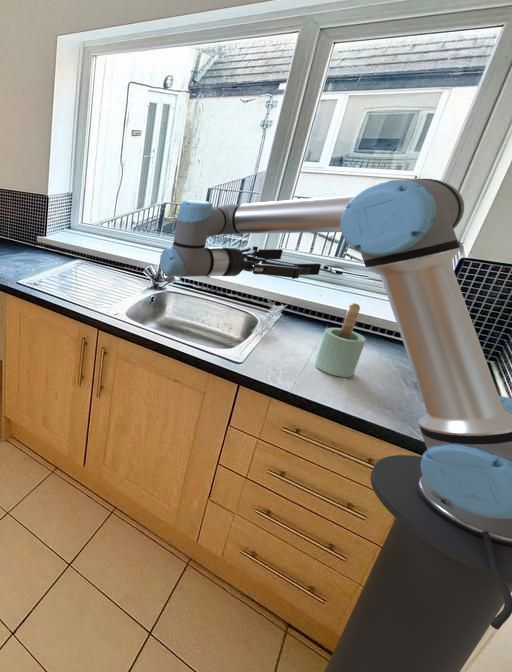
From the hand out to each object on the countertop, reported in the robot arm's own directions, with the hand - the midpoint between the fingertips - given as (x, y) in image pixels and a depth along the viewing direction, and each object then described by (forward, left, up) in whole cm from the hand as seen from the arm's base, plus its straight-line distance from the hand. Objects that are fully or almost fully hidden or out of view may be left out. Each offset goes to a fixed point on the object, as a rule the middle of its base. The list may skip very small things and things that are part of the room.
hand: (298, 261), depth 111 cm
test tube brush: (+30, +5, -32) cm, 44 cm away
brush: (+11, -15, -31) cm, 36 cm away
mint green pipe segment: (+11, -15, -32) cm, 37 cm away
